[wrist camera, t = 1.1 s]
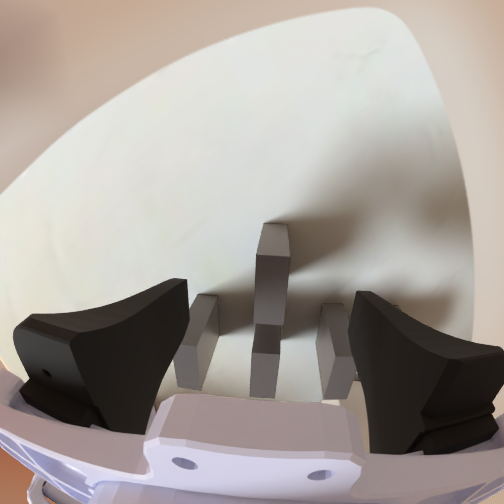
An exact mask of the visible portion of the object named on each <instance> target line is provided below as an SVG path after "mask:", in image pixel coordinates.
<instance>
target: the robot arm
mask: <svg viewBox="0 0 504 504" xmlns="http://www.w3.org/2000/svg"><path fill="white" fill-rule="evenodd" d="M189 321H190V315H189V302H188V287H187V279H178V278H173V279H169V280H167V281H164V282H162V283H160V284H158V285H156V286H153V287H151V288H149V289H147V290H145V291H143V292H140V293H138V294H136V295H133V296H131V297H128V298H126V299H124V300H121V301H118V302H115V303H112V304H109V305H105V306H102V307H97V308H93V309H88V310H83V311H77V312H69V313H57V314H31V315H30V316H29V317H27V318H26V319H25V320H24V321H22V322H21V323H20V324H19V325H18V326H16V328H15V329H14V332H13V340H14V345H15V348H16V351H17V353H18V356H19V358H20V360H21V362H22V364H23V366H24V368H25V370H26V372H27V374H28V376H29V378H30V379H29V380H28V381H27V382H26V383H24V381H23V380H22V379H21V378H19V377H18V376H16V375H14V374H13V373H11V372H9V371H8V370H6V369H2V370H1V371H0V446H1V447H2V448H3V449H4V450H5V451H7V452H8V453H9V454H10V455H12V456H13V457H14V458H15V459H17V460H18V461H19V462H21V463H22V464H23V465H25V466H26V467H27V468H29V469H30V470H31V471H33V472H34V473H35V475H34V477H33V479H32V483H31V485H30V487H29V489H28V491H27V495H28V497H27V500H28V502H29V504H50V503H49V502H48V501H47V500H46V499H45V497H44V495H45V496H46V497H47V498H49V499H50V500H52V501H53V502H55V503H56V504H478V503H480V502H482V501H484V500H485V499H487V498H489V497H491V496H493V495H495V494H496V493H498V492H500V491H501V490H503V489H504V414H502V415H500V416H499V417H497V418H496V419H494V417H493V415H492V414H491V413H493V412H494V411H495V407H494V405H493V403H492V401H493V400H494V398H495V397H496V395H497V394H498V392H499V390H500V389H501V388H502V386H503V384H504V350H503V349H502V348H501V347H498V346H491V345H485V344H479V343H474V342H470V341H466V340H462V339H459V338H456V337H453V336H450V335H447V334H445V333H442V332H439V331H437V330H435V329H433V328H431V327H428V326H426V325H424V324H422V323H420V322H419V321H417V320H415V319H413V318H412V317H410V316H408V315H407V314H405V313H404V312H402V311H400V310H399V309H397V308H396V307H394V306H393V305H391V304H390V303H388V302H387V301H385V300H384V299H382V298H381V297H379V296H378V295H376V294H374V293H373V292H370V291H356V296H355V301H354V305H353V310H352V314H351V319H350V323H349V327H348V337H349V343H350V349H351V353H352V356H353V359H354V363H355V366H356V369H357V372H358V375H359V379H360V382H361V385H362V389H363V393H364V397H365V404H366V411H367V420H368V430H369V448H370V453H365V451H364V446H363V441H362V436H361V431H360V426H359V421H358V417H357V416H355V415H354V414H353V413H352V412H351V411H349V410H348V409H347V408H346V407H343V406H337V405H331V404H325V403H320V402H283V401H267V400H254V399H243V398H234V397H225V396H218V395H210V394H204V393H193V394H175V395H173V396H171V397H170V398H168V399H166V400H164V401H162V402H161V404H160V407H159V409H158V411H157V413H156V411H155V408H154V402H155V398H156V396H157V393H158V390H159V387H160V384H161V382H162V379H163V377H164V375H165V373H166V371H167V369H168V367H169V365H170V363H171V362H172V360H173V358H174V356H175V354H176V352H177V350H178V348H179V346H180V344H181V342H182V340H183V338H184V336H185V333H186V330H187V327H188V324H189ZM43 486H44V487H43ZM42 487H43V489H42Z"/></svg>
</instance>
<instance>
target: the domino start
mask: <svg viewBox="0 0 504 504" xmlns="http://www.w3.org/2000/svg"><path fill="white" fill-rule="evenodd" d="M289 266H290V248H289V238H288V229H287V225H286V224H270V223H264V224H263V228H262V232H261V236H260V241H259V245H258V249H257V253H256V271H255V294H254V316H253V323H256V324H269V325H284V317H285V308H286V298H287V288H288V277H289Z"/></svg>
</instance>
